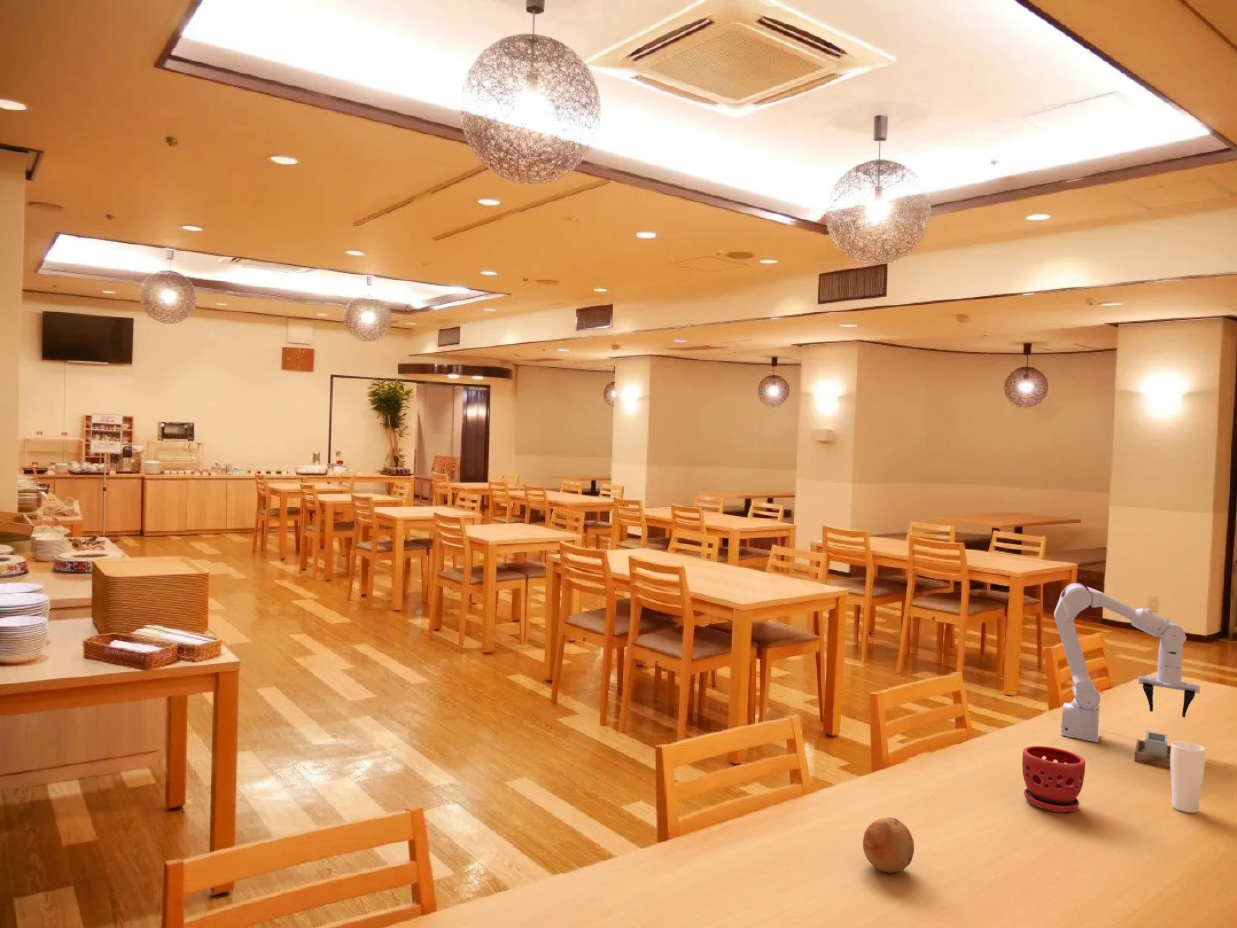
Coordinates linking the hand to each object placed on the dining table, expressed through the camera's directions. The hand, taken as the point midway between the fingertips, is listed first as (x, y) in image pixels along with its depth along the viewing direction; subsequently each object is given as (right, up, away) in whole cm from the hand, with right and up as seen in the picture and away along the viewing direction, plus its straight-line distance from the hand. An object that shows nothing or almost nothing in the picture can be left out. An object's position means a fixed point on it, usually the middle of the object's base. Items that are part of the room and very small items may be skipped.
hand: (1167, 713), depth 241 cm
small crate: (-9, -9, -8) cm, 15 cm away
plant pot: (-53, -10, -40) cm, 67 cm away
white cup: (-22, -11, -41) cm, 47 cm away
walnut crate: (-8, -10, -8) cm, 15 cm away
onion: (-102, -9, -73) cm, 126 cm away
